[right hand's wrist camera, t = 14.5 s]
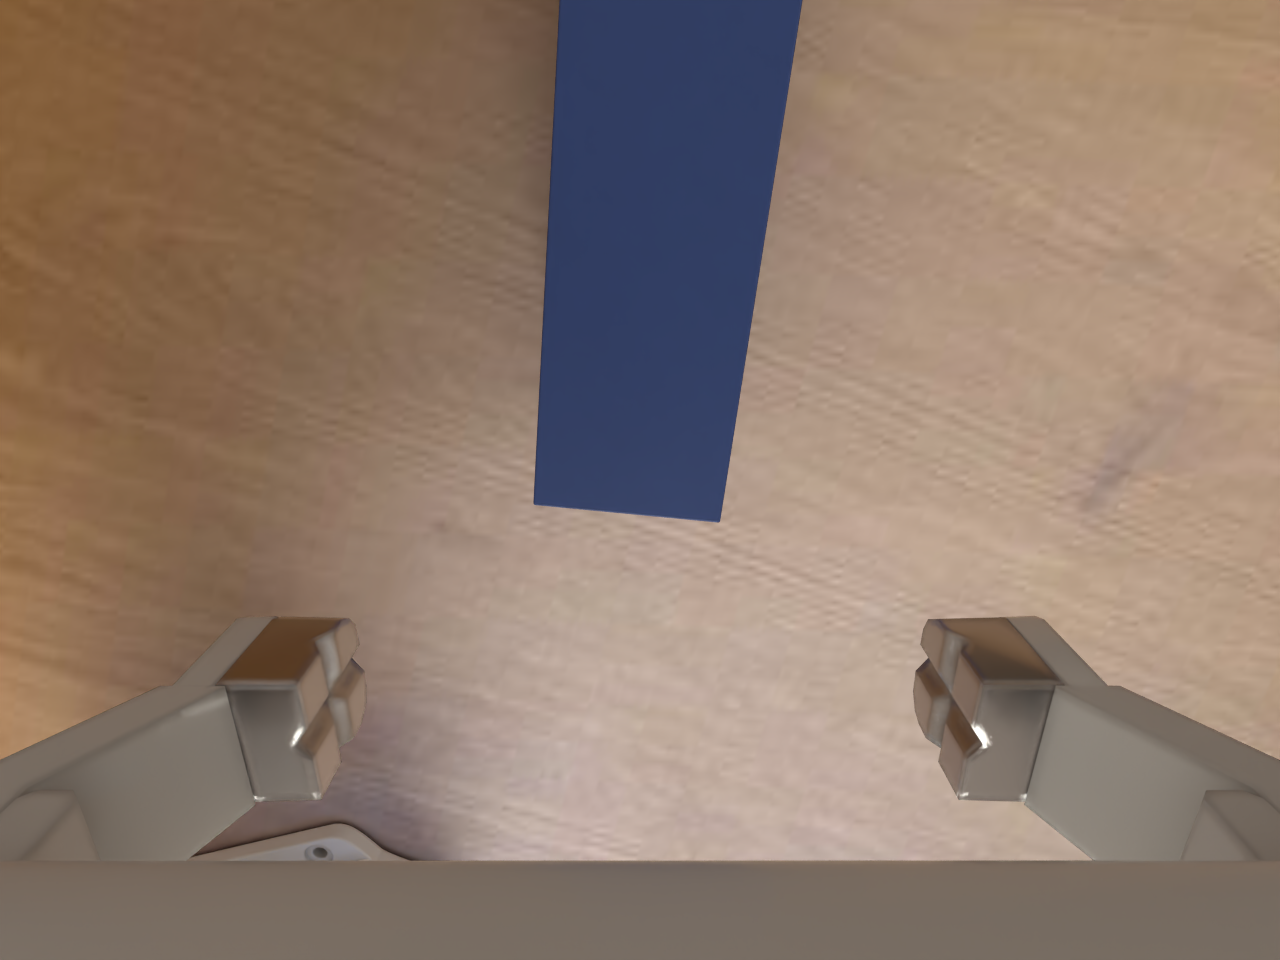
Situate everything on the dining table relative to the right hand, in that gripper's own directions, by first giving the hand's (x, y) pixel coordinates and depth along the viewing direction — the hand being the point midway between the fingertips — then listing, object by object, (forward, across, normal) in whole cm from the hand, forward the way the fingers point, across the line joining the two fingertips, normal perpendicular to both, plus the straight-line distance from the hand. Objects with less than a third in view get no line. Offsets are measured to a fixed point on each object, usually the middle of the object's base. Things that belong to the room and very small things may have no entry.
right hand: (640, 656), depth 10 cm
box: (+24, -1, -9) cm, 26 cm away
